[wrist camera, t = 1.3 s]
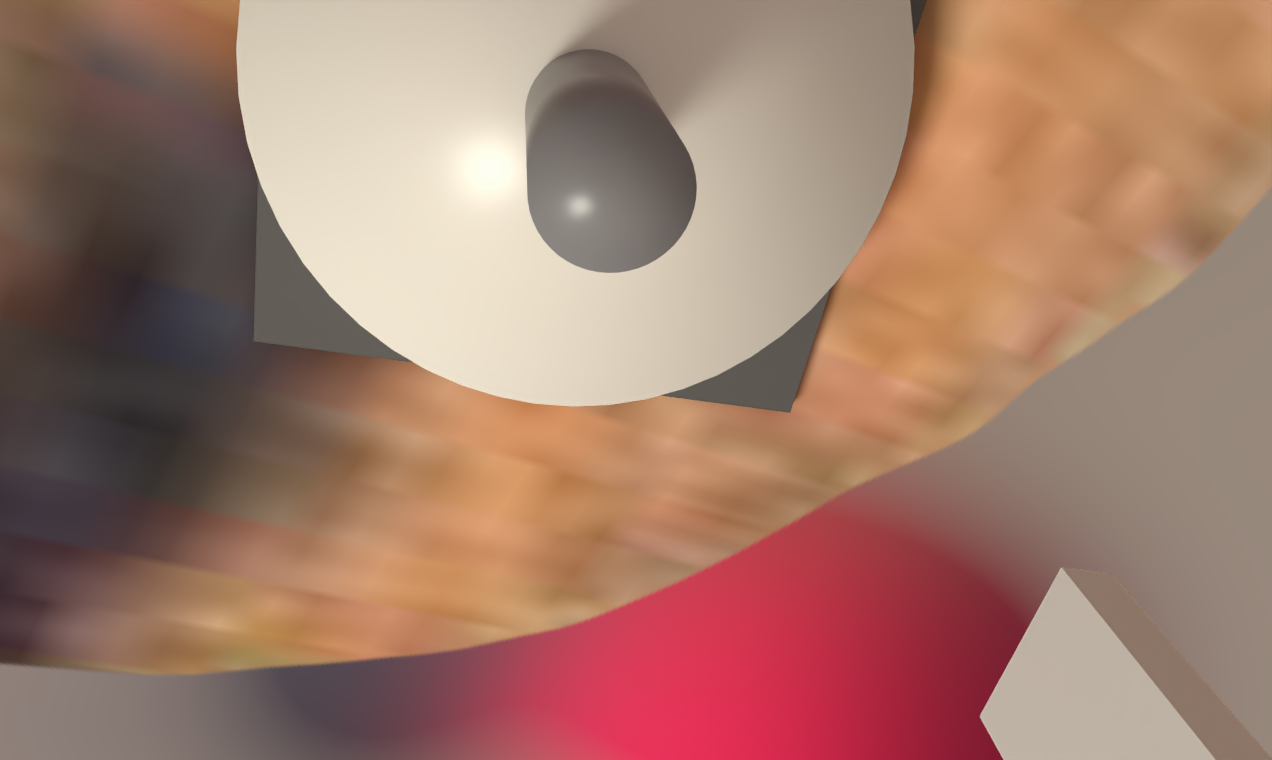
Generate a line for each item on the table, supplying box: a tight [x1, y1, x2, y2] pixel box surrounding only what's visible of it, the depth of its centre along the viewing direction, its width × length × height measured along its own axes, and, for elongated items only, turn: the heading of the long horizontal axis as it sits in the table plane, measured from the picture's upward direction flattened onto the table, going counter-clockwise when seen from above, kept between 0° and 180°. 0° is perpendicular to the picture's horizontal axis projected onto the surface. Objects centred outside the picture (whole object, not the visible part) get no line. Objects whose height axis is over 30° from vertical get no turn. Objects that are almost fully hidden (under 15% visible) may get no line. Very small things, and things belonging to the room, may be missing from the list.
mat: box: [254, 0, 926, 413], centre depth 33 cm, size 22×22×1 cm
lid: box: [236, 0, 915, 406], centre depth 28 cm, size 23×23×10 cm
